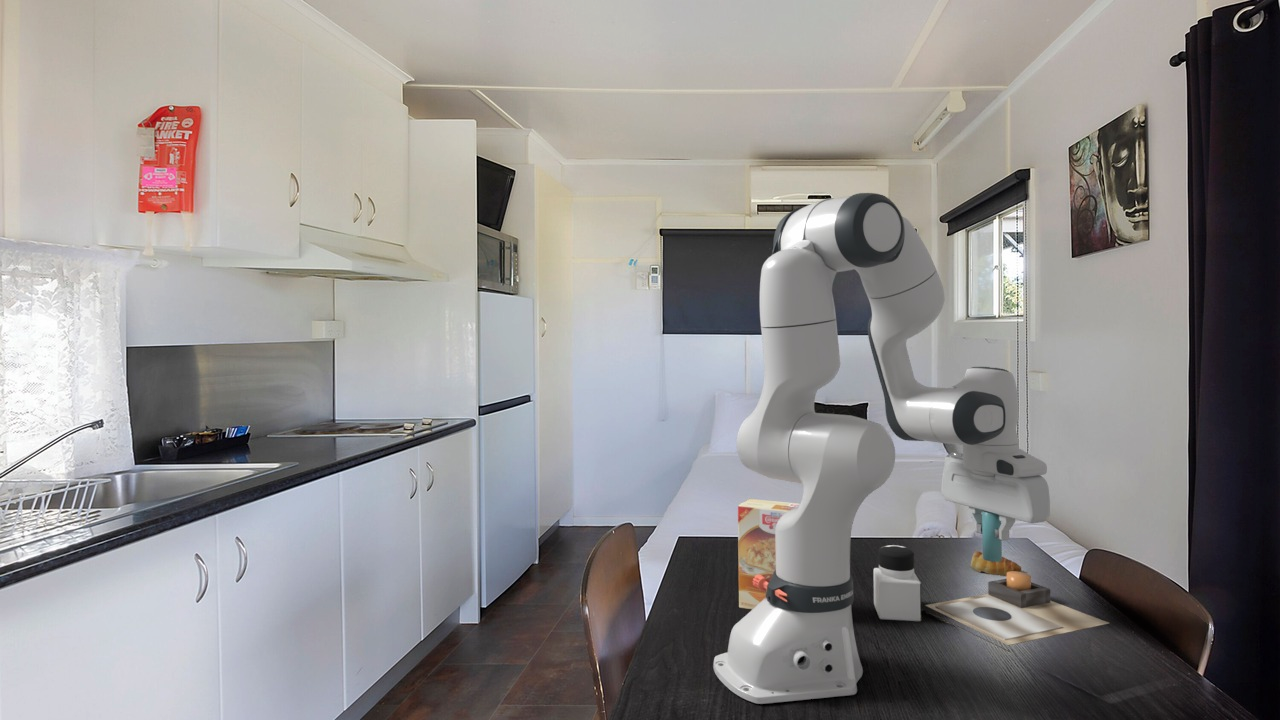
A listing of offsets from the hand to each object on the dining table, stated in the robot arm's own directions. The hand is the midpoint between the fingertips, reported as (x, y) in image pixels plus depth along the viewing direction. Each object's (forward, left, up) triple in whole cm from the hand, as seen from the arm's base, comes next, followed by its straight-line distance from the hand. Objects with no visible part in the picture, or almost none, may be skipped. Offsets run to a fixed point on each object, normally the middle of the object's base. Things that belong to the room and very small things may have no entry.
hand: (991, 536), depth 118 cm
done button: (+11, +4, -13) cm, 17 cm away
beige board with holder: (+4, -1, -15) cm, 15 cm away
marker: (0, 0, -4) cm, 4 cm away
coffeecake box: (-31, +19, -15) cm, 40 cm away
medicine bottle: (-13, +9, -15) cm, 22 cm away
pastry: (+22, +20, -16) cm, 34 cm away
